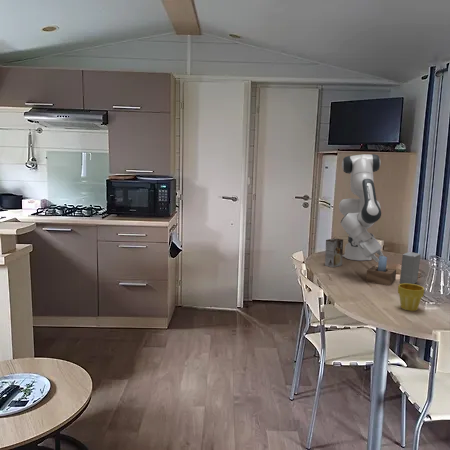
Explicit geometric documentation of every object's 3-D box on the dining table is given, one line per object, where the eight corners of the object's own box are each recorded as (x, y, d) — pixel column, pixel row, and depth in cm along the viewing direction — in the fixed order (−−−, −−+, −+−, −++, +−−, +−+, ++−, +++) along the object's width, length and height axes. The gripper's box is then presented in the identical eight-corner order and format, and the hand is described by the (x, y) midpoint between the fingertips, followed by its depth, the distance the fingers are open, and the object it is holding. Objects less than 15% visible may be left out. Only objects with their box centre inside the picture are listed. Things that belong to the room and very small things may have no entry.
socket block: (372, 276, 238) (373, 266, 237) (395, 280, 231) (396, 269, 230) (366, 281, 228) (366, 270, 227) (389, 285, 222) (390, 274, 221)
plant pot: (427, 312, 183) (429, 289, 181) (403, 312, 182) (405, 290, 180) (414, 304, 193) (416, 283, 191) (392, 304, 192) (393, 283, 191)
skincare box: (405, 280, 232) (407, 251, 230) (419, 282, 227) (421, 253, 225) (398, 283, 226) (400, 253, 224) (412, 286, 221) (414, 255, 219)
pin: (378, 277, 233) (380, 255, 231) (386, 278, 230) (387, 256, 229) (376, 279, 229) (378, 257, 228) (383, 280, 227) (385, 258, 225)
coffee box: (333, 263, 268) (334, 237, 266) (342, 265, 264) (343, 239, 261) (324, 265, 262) (325, 239, 260) (333, 267, 258) (334, 241, 255)
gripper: (361, 238, 223) (380, 259, 219) (373, 233, 239) (390, 252, 235) (352, 246, 226) (370, 267, 222) (364, 240, 243) (381, 259, 239)
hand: (381, 259), depth 229 cm, fingers open, 8 cm apart
